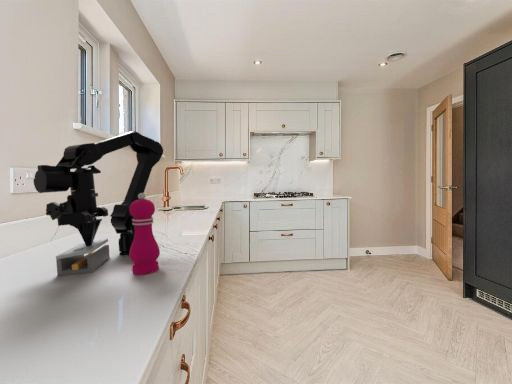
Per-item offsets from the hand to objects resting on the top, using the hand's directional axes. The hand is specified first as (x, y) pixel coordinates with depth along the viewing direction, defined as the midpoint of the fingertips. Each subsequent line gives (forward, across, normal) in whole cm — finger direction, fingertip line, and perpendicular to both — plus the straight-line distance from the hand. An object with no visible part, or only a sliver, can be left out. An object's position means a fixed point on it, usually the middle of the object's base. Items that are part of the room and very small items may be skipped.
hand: (89, 246), depth 76 cm
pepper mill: (+7, +10, +16) cm, 20 cm away
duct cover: (+1, 0, -1) cm, 1 cm away
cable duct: (+5, 0, -1) cm, 6 cm away
